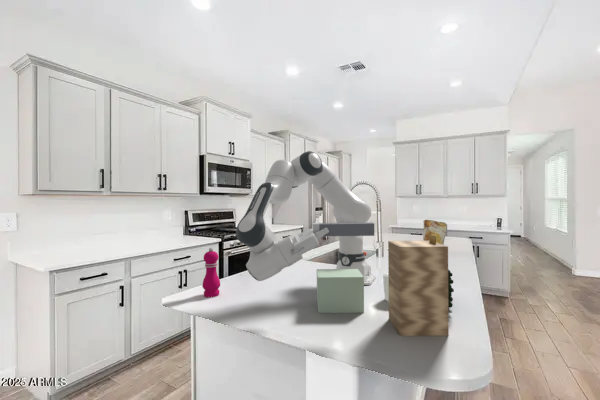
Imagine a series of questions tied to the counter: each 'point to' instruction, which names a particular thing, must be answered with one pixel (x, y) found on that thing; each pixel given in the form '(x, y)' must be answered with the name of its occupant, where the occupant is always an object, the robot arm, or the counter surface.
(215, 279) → the pepper mill
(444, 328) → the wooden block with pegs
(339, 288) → the green platform
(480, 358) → the counter surface
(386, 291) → the white cup
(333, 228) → the bar
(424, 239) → the pancake mix bag
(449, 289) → the toy figurine
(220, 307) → the counter surface
